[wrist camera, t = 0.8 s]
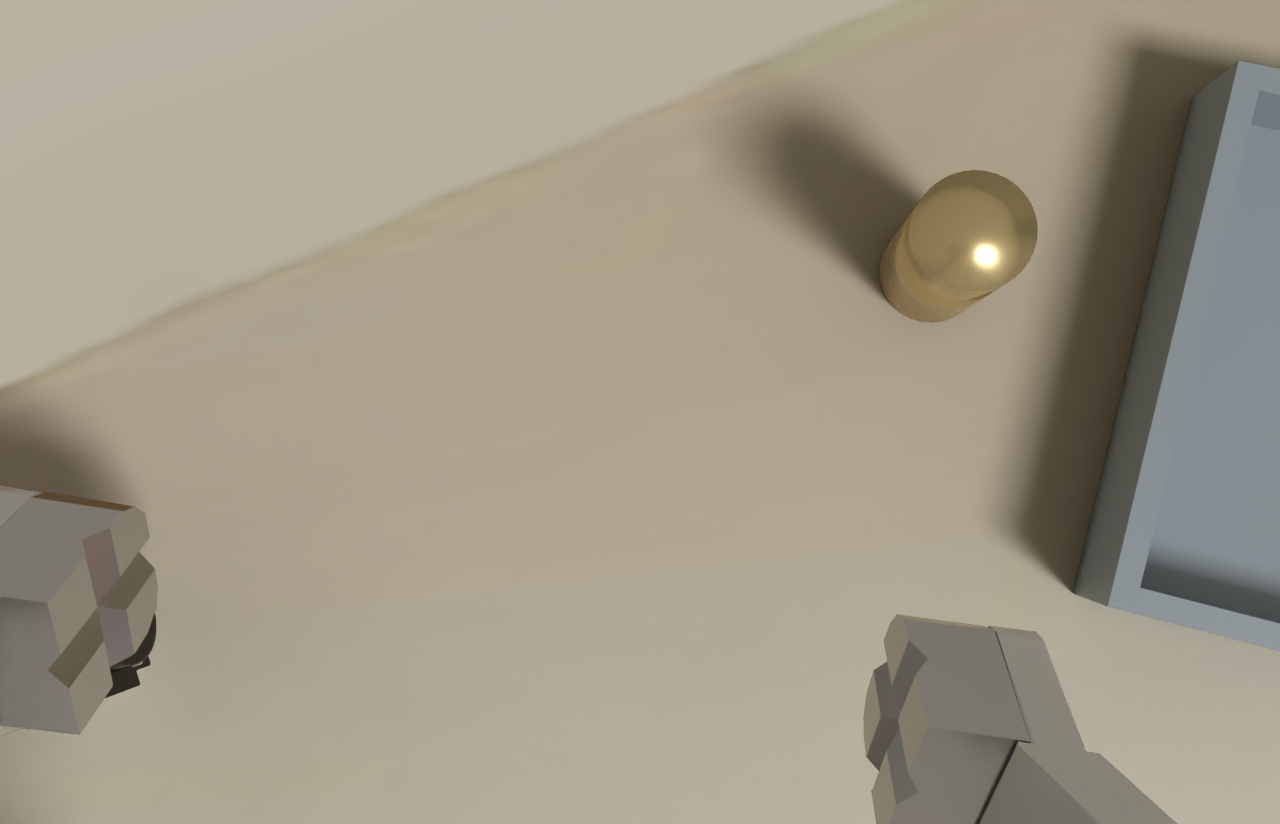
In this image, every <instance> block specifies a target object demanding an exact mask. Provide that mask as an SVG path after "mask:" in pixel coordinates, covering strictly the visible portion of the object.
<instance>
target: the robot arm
mask: <svg viewBox="0 0 1280 824" xmlns="http://www.w3.org/2000/svg"><path fill="white" fill-rule="evenodd" d="M149 537H150V536H149V532H148V527H147V522H146V518H145V513H144V512H142V511H141V510H139V509H137V508H136V507H134V506H128V505H122V504H116V503H110V502H103V501H97V500H91V499H85V498H79V497H73V496H67V495H61V494H55V493H49V492H44V493H42V492H37V491H31V490H25V489H19V488H13V487H7V486H1V485H0V726H8V727H17V728H26V729H35V730H44V731H53V732H62V733H71V734H80V733H81V732H82V730H83V729H84V728H85V726H86V725H87V723H88V722H89V720H90V719H91V717H92V716H93V714H94V713H95V711H96V710H97V709H98V707H99V706H100V704H101V703H102V701H103V700H104V698H105V697H106V695H107V694H108V692H109V691H110V689H111V688H112V687H113V682H112V677H111V672H110V667H111V666H113V665H115V664H117V663H119V662H121V661H122V660H124V659H126V658H128V657H130V656H132V655H133V654H135V652H136V651H137V649H138V648H139V646H140V644H141V643H142V641H143V640H144V638H145V637H146V635H147V634H148V631H149V628H150V625H151V622H152V619H153V616H154V613H155V610H156V604H157V590H158V585H157V579H156V572H155V569H154V567H153V566H152V565H151V564H150V563H149V562H148V561H147V560H146V559H145V558H144V557H143V556H142V555H141V553H140V552H139V551H140V550H141V548H142V547H143V546H144V544H145V543H146V541H147V540H148V539H149ZM884 645H885V651H886V656H887V662H886V663H884V664H883V665H881V666H880V667H878V668H877V669H875V670H874V671H873V674H872V677H871V681H870V684H869V687H868V691H867V695H866V703H865V710H864V741H865V749H866V757H867V758H868V759H869V760H870V762H871V763H872V764H873V765H874V766H875V767H876V768H877V770H878V771H879V773H878V776H877V778H876V781H875V784H874V787H873V790H872V798H873V805H874V811H875V817H876V824H1177V823H1176V822H1175V821H1173V820H1172V819H1171V818H1170V817H1169V816H1168V815H1167V814H1166V813H1165V812H1164V811H1162V810H1161V809H1160V808H1159V807H1158V806H1157V805H1156V804H1155V803H1154V802H1153V801H1151V800H1150V799H1149V798H1148V797H1147V796H1146V795H1145V794H1144V793H1143V792H1142V791H1140V790H1139V789H1138V788H1137V787H1136V786H1135V785H1134V784H1133V783H1132V782H1131V781H1129V780H1128V779H1127V778H1126V777H1125V776H1124V775H1123V774H1122V773H1121V772H1119V771H1118V770H1117V769H1116V768H1115V767H1114V766H1113V765H1112V764H1111V763H1110V762H1108V761H1107V760H1106V759H1105V758H1104V757H1103V756H1102V755H1101V754H1099V753H1092V752H1086V751H1085V748H1084V745H1083V743H1082V740H1081V737H1080V735H1079V732H1078V730H1077V727H1076V724H1075V722H1074V719H1073V716H1072V714H1071V711H1070V709H1069V706H1068V703H1067V701H1066V698H1065V696H1064V693H1063V690H1062V688H1061V685H1060V682H1059V680H1058V677H1057V675H1056V672H1055V669H1054V667H1053V664H1052V661H1051V659H1050V656H1049V654H1048V651H1047V648H1046V646H1045V643H1044V641H1043V638H1042V637H1041V636H1040V635H1038V634H1037V633H1036V632H1035V631H1026V630H1018V629H1010V628H1002V627H994V626H989V627H985V626H979V625H972V624H964V623H957V622H949V621H942V620H935V619H927V618H920V617H912V616H905V615H897V614H896V616H895V617H894V619H893V620H892V621H891V623H890V625H889V628H888V631H887V633H886V636H885V639H884Z"/></svg>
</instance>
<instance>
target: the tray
mask: <svg viewBox="0 0 1280 824" xmlns="http://www.w3.org/2000/svg"><path fill="white" fill-rule="evenodd" d="M1073 594H1076V595H1079V596H1082V597H1084V598H1087V599H1090V600H1092V601H1095V602H1098V603H1100V604H1103V605H1106V606H1109V607H1113V608H1117V609H1120V610H1124V611H1128V612H1132V613H1136V614H1140V615H1144V616H1147V617H1151V618H1155V619H1159V620H1163V621H1167V622H1171V623H1174V624H1178V625H1182V626H1186V627H1190V628H1194V629H1198V630H1201V631H1205V632H1209V633H1213V634H1217V635H1221V636H1225V637H1229V638H1232V639H1236V640H1240V641H1244V642H1248V643H1252V644H1256V645H1259V646H1263V647H1267V648H1271V649H1275V650H1279V651H1280V69H1278V68H1273V67H1268V66H1263V65H1258V64H1254V63H1249V62H1244V61H1238V62H1236V63H1235V64H1234V65H1233V66H1231V67H1230V68H1229V69H1227V70H1226V71H1225V72H1224V73H1222V74H1221V75H1220V76H1219V77H1217V78H1216V79H1215V80H1213V81H1212V82H1211V83H1210V84H1208V85H1207V86H1206V87H1205V88H1203V89H1202V90H1201V91H1200V92H1198V93H1197V94H1196V95H1194V96H1193V98H1192V102H1191V106H1190V110H1189V115H1188V119H1187V123H1186V127H1185V131H1184V135H1183V139H1182V144H1181V148H1180V152H1179V156H1178V160H1177V164H1176V168H1175V173H1174V177H1173V181H1172V185H1171V189H1170V193H1169V198H1168V202H1167V206H1166V210H1165V214H1164V218H1163V222H1162V227H1161V231H1160V235H1159V239H1158V243H1157V247H1156V251H1155V256H1154V260H1153V264H1152V268H1151V272H1150V276H1149V280H1148V285H1147V289H1146V293H1145V297H1144V301H1143V305H1142V309H1141V314H1140V318H1139V322H1138V326H1137V330H1136V334H1135V339H1134V343H1133V347H1132V351H1131V355H1130V359H1129V363H1128V368H1127V372H1126V376H1125V380H1124V384H1123V388H1122V392H1121V397H1120V401H1119V405H1118V409H1117V413H1116V417H1115V421H1114V426H1113V430H1112V434H1111V438H1110V442H1109V446H1108V450H1107V455H1106V459H1105V463H1104V467H1103V471H1102V475H1101V480H1100V484H1099V488H1098V492H1097V496H1096V500H1095V504H1094V509H1093V513H1092V517H1091V521H1090V525H1089V529H1088V533H1087V538H1086V542H1085V546H1084V550H1083V554H1082V558H1081V562H1080V567H1079V571H1078V575H1077V579H1076V583H1075V587H1074V591H1073Z"/></svg>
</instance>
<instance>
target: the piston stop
mask: <svg viewBox="0 0 1280 824" xmlns="http://www.w3.org/2000/svg"><path fill="white" fill-rule="evenodd" d="M1036 241H1037V220H1036V216H1035V212H1034V210H1033V207H1032V205H1031V203H1030V201H1029V200H1028V198H1027V197H1026V195H1025V194H1024V193H1023V192H1022V191H1021V190H1020V188H1019V187H1018V186H1016V185H1015V184H1014V183H1012V182H1011V181H1010V180H1008V179H1006V178H1005V177H1002V176H1000V175H998V174H995V173H991V172H987V171H977V170H971V171H963V172H959V173H955V174H953V175H950V176H948V177H946V178H944V179H942V180H940V181H939V182H937V183H936V184H935V185H934V186H933V187H931V188H930V189H929V190H928V192H927V193H926V194H925V195H924V196H923V198H922V199H921V200H920V202H919V203H918V204H917V206H916V207H915V209H914V210H913V211H912V213H911V214H910V215H909V217H908V218H907V219H906V221H905V222H904V223H903V225H902V226H901V228H900V229H899V230H898V232H897V233H896V234H895V236H894V237H893V238H892V240H891V241H890V243H889V244H888V246H887V247H886V249H885V251H884V253H883V255H882V258H881V262H880V268H879V277H880V283H881V287H882V290H883V292H884V294H885V296H886V298H887V300H888V301H889V302H890V304H891V305H892V306H893V307H894V308H895V309H896V310H897V311H899V312H900V313H901V314H903V315H905V316H906V317H909V318H911V319H914V320H917V321H922V322H940V321H944V320H947V319H950V318H953V317H954V316H956V315H958V314H960V313H961V312H963V311H964V310H966V309H967V308H969V307H971V306H972V305H974V304H975V303H977V302H978V301H980V300H981V299H983V298H984V297H986V296H987V295H989V294H991V293H992V292H994V291H995V290H997V289H998V288H1000V287H1001V286H1003V285H1004V284H1006V283H1008V282H1009V281H1010V280H1012V279H1013V278H1015V277H1016V276H1017V275H1018V274H1019V273H1020V272H1021V271H1022V270H1023V269H1024V268H1025V266H1026V265H1027V263H1028V262H1029V260H1030V258H1031V256H1032V254H1033V252H1034V249H1035V246H1036Z"/></svg>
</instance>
